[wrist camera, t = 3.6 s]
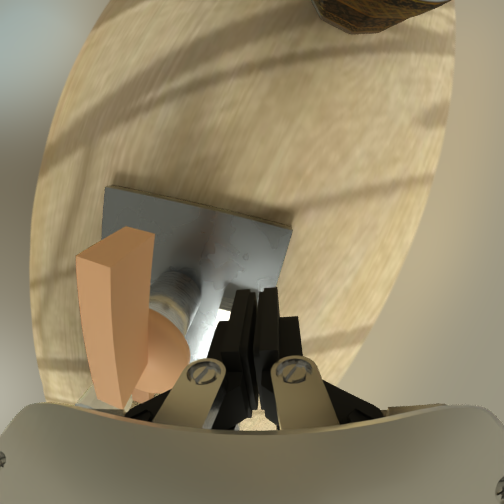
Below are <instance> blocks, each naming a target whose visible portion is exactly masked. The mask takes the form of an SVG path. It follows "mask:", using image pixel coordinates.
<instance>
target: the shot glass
mask: <svg viewBox="0 0 504 504" xmlns="http://www.w3.org/2000/svg"><path fill="white" fill-rule="evenodd" d="M132 402H133V399H132V394H131V396H130V398H129V400H128V402H127V404H126V406H125V408H124V410H125V412H128V411H129V410H130V407H131V404H132ZM75 406H79V407H83V408H90V409H119V408H116V407H114V406H112V405H109V404H107V403H105V402H103V401H101V400H98V399H97V396H96V392H95V389H94V385H93V384H92V385H91V386H90V387H89V389H88V390H87V391H86V392H85V393H84V394H83V396H82V397H81V398H80V399H79V400H78V402H77V403H76V404H75Z"/></svg>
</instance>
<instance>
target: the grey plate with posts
mask: <svg viewBox="0 0 504 504" xmlns="http://www.w3.org/2000/svg"><path fill="white" fill-rule="evenodd" d="M125 226H127V227H131V228H135V229H139V230H142V231H146V232H150V233H154V234H155V239H154V248H153V258H152V269H151V281H150V296H149V308H150V309H152V310H154V311H156V312H158V313H160V314H161V315H163V316H165V317H166V318H167V319H168V320H170V321H171V322H172V323H173V324H174V325H175V326H176V327H177V328H178V329H179V330H180V332H181V333H182V334H183V336H184V338H185V339H186V341H187V343H188V346H189V349H190V363H191V362H193V361H196V360H198V359H204V358H206V357H207V354H208V351H209V348H210V345H211V342H212V338H213V335H214V332H215V329H216V326H217V323H218V321H220V320H229V316H230V313H231V309H232V305H233V301H234V297H235V294H236V290H241V289H250V291H251V292H255V293H256V300H257V307H258V297H259V292H263V291H264V288H271V287H276V284H277V281H278V278H279V274H280V271H281V268H282V265H283V261H284V258H285V255H286V252H287V248H288V245H289V242H290V238H291V235H292V231H293V230H292V226H288V225H284V224H280V223H276V222H273V221H269V220H265V219H261V218H257V217H253V216H249V215H245V214H241V213H237V212H233V211H229V210H224V209H220V208H216V207H212V206H208V205H203V204H199V203H195V202H190V201H186V200H181V199H177V198H172V197H168V196H163V195H159V194H154V193H149V192H144V191H140V190H135V189H130V188H125V187H120V186H115V185H111V186H107V187H105V195H104V206H103V220H102V240H103V239H104V238H106V237H108V236H109V235H111V234H113V233H115V232H116V231H118V230H120V229H122V228H123V227H125ZM190 363H189V364H190Z"/></svg>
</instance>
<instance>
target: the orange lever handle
mask: <svg viewBox="0 0 504 504" xmlns="http://www.w3.org/2000/svg"><path fill="white" fill-rule="evenodd" d="M154 239H155V234H154V233H150V232H146V231H142V230H139V229H135V228H131V227H127V226H125V227H123V228H122V229H120V230H118V231H116V232H115V233H113V234H111V235H109V236H108V237H106V238H104V239H103V240H101V241H99V242H97V243H96V244H94V245H92V246H91V247H89V248H88V249H86V250H84V251H83V252H81V253H79V254H78V255H76V274H77V288H78V299H79V308H80V316H81V323H82V330H83V336H84V342H85V348H86V353H87V358H88V363H89V368H90V372H91V376H92V381H93V385H94V389H95V392H96V396H97V399H98V400H101V401H103V402H105V403H107V404H109V405H112V406H114V407H116V408H119V409H124V408H125V406H126V404H127V402H128V400H129V398H130V396H131V394H132V399H133V400H134V401H136V402H139V403H143V402H146V401H148V400H150V399H152V398H153V397H154V395H155V393H158V394H160V393H164V392H166V391H168V390H170V389H172V388H173V386H174V385H175V383H176V381H177V380H178V378H179V376H180V375H181V373H182V372H183V370H184V369H185V367H186V366H187V365H189V363H190V349H189V346H188V343H187V341H186V339H185V338H184V336H183V334H182V333H181V332H180V330H179V329H178V328H177V327H176V326H175V325H174V324H173V323H172V322H171V321H170V320H168V319H167V318H166V317H165V316H163V315H161V314H160V313H158V312H156V311H154V310H152V309H150V308H149V296H150V281H151V269H152V258H153V248H154Z"/></svg>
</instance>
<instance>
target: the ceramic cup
mask: <svg viewBox="0 0 504 504" xmlns="http://www.w3.org/2000/svg"><path fill="white" fill-rule="evenodd" d="M311 1H312V3H313V5H314V7H315V9H316V11H317V13H318V15H319V16H320V18H321V20H323V21H325V22H327V23H329V24H331V25H333V26H335V27H337V28H339V29H341V30H343V31H344V32H346V33H348V34H367V33H379V32H381V31H383V30H385V29H387V28H389V27H391V26H393V25H395V24H398V23H400V22H402V21H404V20H406V19H408V18H410V17H413V16H417V15H420V14H423V13H425V12H427V11H430V10H432V9H435V8H437V7H439V6H441V5H443V4H445V3H447V2H449V1H451V0H311Z"/></svg>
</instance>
